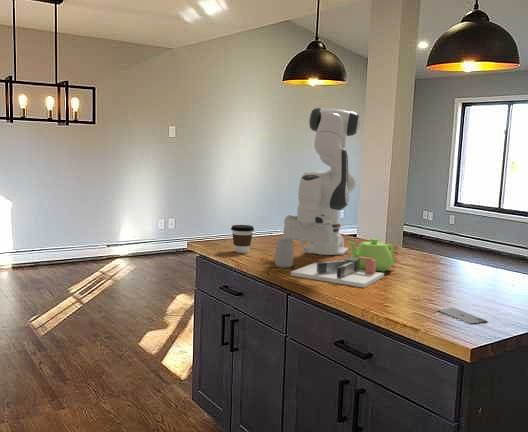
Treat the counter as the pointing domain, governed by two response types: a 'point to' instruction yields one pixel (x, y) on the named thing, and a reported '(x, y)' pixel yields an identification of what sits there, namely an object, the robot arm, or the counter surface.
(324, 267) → the tongs arm
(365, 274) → the board
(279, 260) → the can
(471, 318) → the smartphone
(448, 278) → the counter surface
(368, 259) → the lock tab
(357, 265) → the tongs fixed
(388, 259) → the teapot
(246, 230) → the coffee cup
